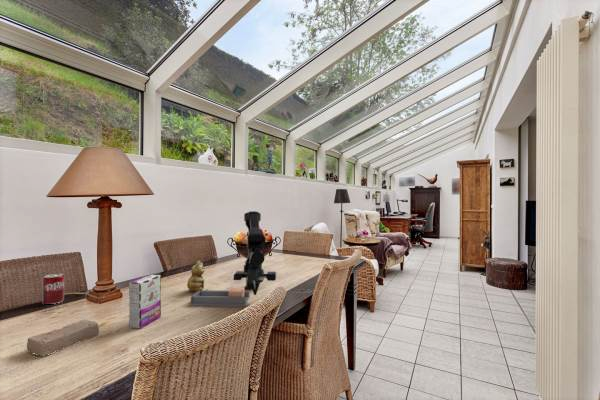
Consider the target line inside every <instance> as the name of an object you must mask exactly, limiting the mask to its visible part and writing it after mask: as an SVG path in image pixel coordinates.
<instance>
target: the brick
mask: <svg viewBox="0 0 600 400" xmlns="http://www.w3.org/2000/svg"><path fill="white" fill-rule="evenodd" d="M99 334H100V327H99V323H98V322H96V321H94V320H90V319H82V320H80V321H77V322H73V323H71V324H68V325H65V326H63V327H62V328H58V329H53V330H50V331H47V332H43V333H39V334H37V335H36V334H35V335H32V336H30V337H28V338H27V342H26V350H27V351H28V353H30V352H31V353H30V354H32V353H35V354H37V355H38V356H39V355H40V356H39V357H41V356H44V355H47V356H49V355H48V354H51V353H53V352H55V351H57V350H61V349H63V348H66V347H68V346H70V347H72V346H74V345H73V344H75V343H77V342H79V341H82V342H84V341H86V340H85V339H87V340H89V339H91V338H93V337H95V336H98V335H99ZM88 338H89V339H88ZM83 340H84V341H83ZM77 344H78V343H77ZM71 345H72V346H71ZM75 345H76V344H75ZM68 348H69V347H68ZM66 349H67V348H66ZM63 350H64V349H63ZM61 351H62V350H61ZM35 354H34V355H35ZM53 354H54V353H53ZM51 355H52V354H51ZM44 357H45V356H44Z"/></svg>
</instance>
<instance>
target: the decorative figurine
mask: <svg viewBox="0 0 600 400" xmlns="http://www.w3.org/2000/svg"><path fill="white" fill-rule="evenodd" d="M203 265H204V263H203V262H201V260H198V261H196V263H195V264H194V265H193V266H192V267H191V269H190V272H191V276H190V277H189V278H188V281H187V285H186V286H187V289H188V290H189V291H191V293H196V292H197V291H198V290H203V289H204V288H205V279H204V276H203V274H204V273H205V267H204V266H203Z"/></svg>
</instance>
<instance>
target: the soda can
mask: <svg viewBox="0 0 600 400" xmlns="http://www.w3.org/2000/svg"><path fill="white" fill-rule="evenodd" d="M41 291H42V293H41V294H42V296H41V297H42V298H41V300H42V302H41V303H42V304H43V305H44V304H54V305H57V304H56V303H58V304H60V302H61V303H63V301H64V300H65V274H64V273H51V274H46V275H44V276H43V277H42V290H41Z"/></svg>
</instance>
